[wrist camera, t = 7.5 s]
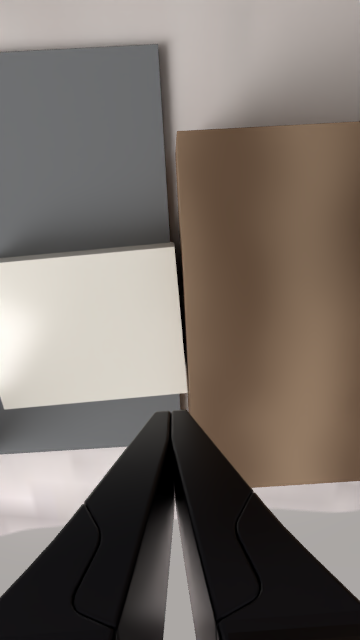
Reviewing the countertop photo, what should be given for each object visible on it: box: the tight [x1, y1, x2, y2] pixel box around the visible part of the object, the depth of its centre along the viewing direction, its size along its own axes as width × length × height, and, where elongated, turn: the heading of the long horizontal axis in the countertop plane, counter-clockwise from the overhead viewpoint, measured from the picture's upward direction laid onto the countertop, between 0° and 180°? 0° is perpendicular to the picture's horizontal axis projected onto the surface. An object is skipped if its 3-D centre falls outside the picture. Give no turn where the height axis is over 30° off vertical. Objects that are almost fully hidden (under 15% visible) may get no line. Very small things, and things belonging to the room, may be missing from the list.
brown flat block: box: [175, 121, 360, 488], centre depth 15 cm, size 17×16×4 cm
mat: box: [0, 44, 180, 454], centre depth 16 cm, size 14×20×1 cm
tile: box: [0, 242, 188, 410], centre depth 15 cm, size 9×7×2 cm
